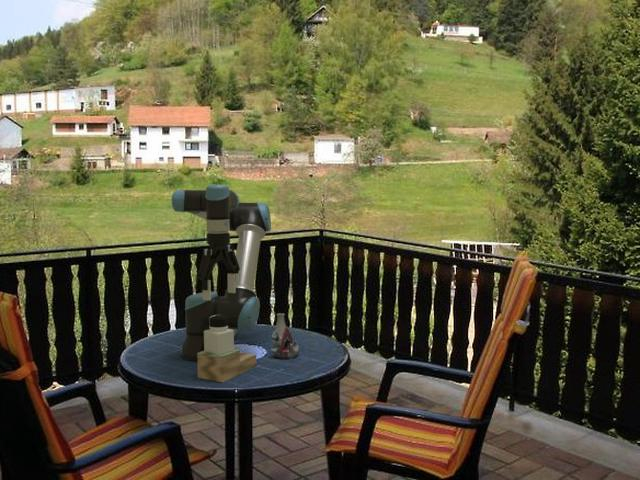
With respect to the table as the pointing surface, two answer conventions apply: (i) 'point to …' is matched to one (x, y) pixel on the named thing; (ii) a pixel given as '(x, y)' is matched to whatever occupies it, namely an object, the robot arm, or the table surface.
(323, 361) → the table surface
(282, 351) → the red grey figurine
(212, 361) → the stepped stand
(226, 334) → the medicine bottle
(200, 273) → the robot arm
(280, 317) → the flask
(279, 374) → the table surface
